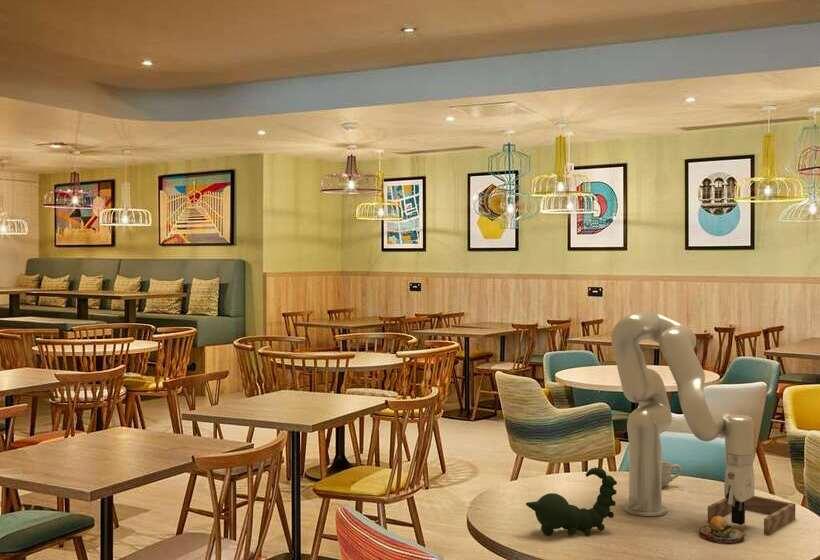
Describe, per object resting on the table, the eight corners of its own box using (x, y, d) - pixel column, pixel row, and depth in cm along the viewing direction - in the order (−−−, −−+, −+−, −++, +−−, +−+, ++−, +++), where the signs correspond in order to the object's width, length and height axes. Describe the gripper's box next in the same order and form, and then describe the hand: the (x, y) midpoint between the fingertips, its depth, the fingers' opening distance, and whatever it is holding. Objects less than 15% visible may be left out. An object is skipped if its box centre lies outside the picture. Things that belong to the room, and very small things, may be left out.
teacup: (635, 488, 282) (636, 464, 282) (640, 480, 292) (640, 457, 292) (679, 492, 277) (680, 468, 277) (682, 484, 287) (682, 460, 287)
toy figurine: (602, 531, 244) (517, 528, 239) (609, 464, 244) (523, 460, 239) (616, 542, 235) (528, 539, 230) (623, 472, 234) (535, 468, 230)
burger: (752, 544, 229) (753, 517, 228) (710, 545, 228) (710, 518, 227) (731, 530, 241) (731, 503, 240) (691, 531, 239) (691, 505, 239)
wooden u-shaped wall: (768, 535, 235) (768, 519, 235) (707, 521, 247) (707, 506, 247) (795, 519, 250) (795, 503, 249) (736, 506, 262) (736, 492, 262)
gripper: (740, 466, 233) (739, 532, 234) (763, 456, 244) (762, 520, 244) (714, 461, 238) (713, 526, 239) (737, 452, 249) (736, 514, 250)
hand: (738, 523), depth 242 cm, fingers closed
